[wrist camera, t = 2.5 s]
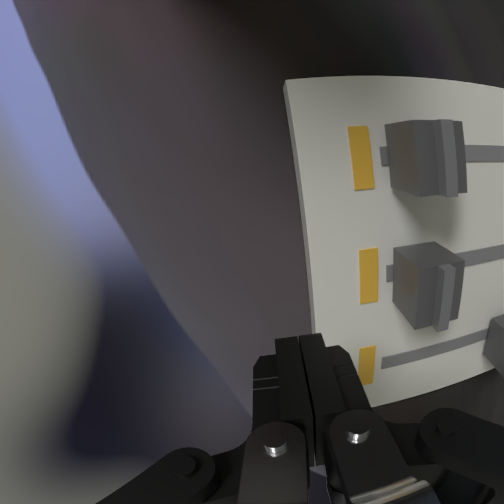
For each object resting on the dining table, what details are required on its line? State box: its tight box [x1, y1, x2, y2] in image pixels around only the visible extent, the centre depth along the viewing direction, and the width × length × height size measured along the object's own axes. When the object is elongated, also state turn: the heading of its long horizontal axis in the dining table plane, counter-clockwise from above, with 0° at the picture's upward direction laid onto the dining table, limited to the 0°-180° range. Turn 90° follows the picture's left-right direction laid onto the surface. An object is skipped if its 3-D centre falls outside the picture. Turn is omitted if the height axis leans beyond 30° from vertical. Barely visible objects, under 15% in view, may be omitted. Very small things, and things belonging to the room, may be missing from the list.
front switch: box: [384, 119, 467, 198], centre depth 11 cm, size 2×3×4 cm
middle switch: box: [392, 241, 465, 332], centre depth 13 cm, size 2×3×4 cm
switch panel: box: [283, 76, 504, 407], centre depth 16 cm, size 19×20×2 cm
